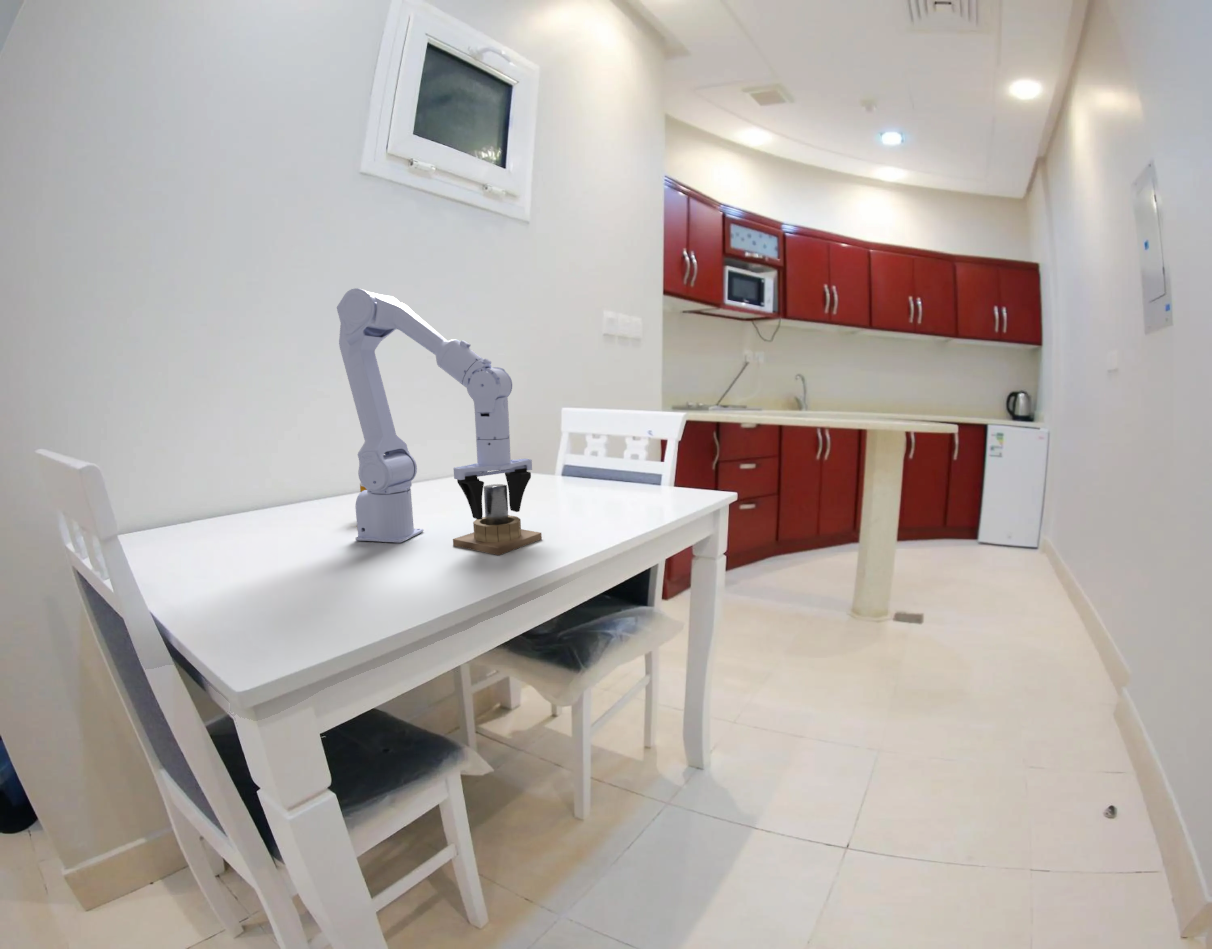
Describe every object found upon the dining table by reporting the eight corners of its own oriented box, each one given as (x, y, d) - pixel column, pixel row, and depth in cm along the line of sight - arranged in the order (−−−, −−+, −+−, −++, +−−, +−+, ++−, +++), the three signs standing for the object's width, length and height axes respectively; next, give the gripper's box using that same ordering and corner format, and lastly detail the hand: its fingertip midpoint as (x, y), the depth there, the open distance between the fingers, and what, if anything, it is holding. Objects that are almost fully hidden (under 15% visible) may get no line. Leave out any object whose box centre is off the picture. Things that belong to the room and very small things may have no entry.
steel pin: (482, 538, 99) (479, 488, 97) (492, 532, 103) (489, 483, 101) (503, 539, 98) (501, 488, 96) (512, 533, 102) (510, 484, 100)
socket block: (453, 545, 99) (451, 523, 98) (497, 531, 108) (496, 510, 107) (499, 555, 93) (497, 531, 92) (541, 539, 102) (540, 517, 101)
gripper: (466, 443, 89) (470, 526, 92) (540, 436, 99) (543, 511, 101) (445, 440, 95) (450, 518, 97) (518, 433, 104) (521, 505, 106)
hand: (496, 514), depth 99 cm, fingers open, 7 cm apart
